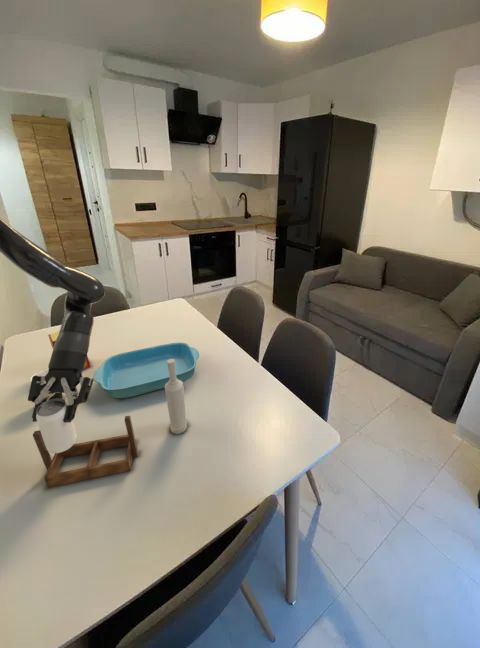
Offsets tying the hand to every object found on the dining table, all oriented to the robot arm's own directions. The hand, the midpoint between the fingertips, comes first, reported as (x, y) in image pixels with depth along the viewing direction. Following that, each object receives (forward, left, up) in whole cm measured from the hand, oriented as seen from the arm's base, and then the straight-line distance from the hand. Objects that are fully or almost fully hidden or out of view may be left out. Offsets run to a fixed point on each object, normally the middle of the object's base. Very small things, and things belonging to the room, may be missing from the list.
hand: (52, 421), depth 68 cm
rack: (+5, +1, -18) cm, 19 cm away
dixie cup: (-14, +29, -18) cm, 37 cm away
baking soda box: (-13, +48, -18) cm, 53 cm away
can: (0, +1, -9) cm, 9 cm away
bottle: (+27, +8, -18) cm, 34 cm away
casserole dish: (+17, +35, -18) cm, 43 cm away
